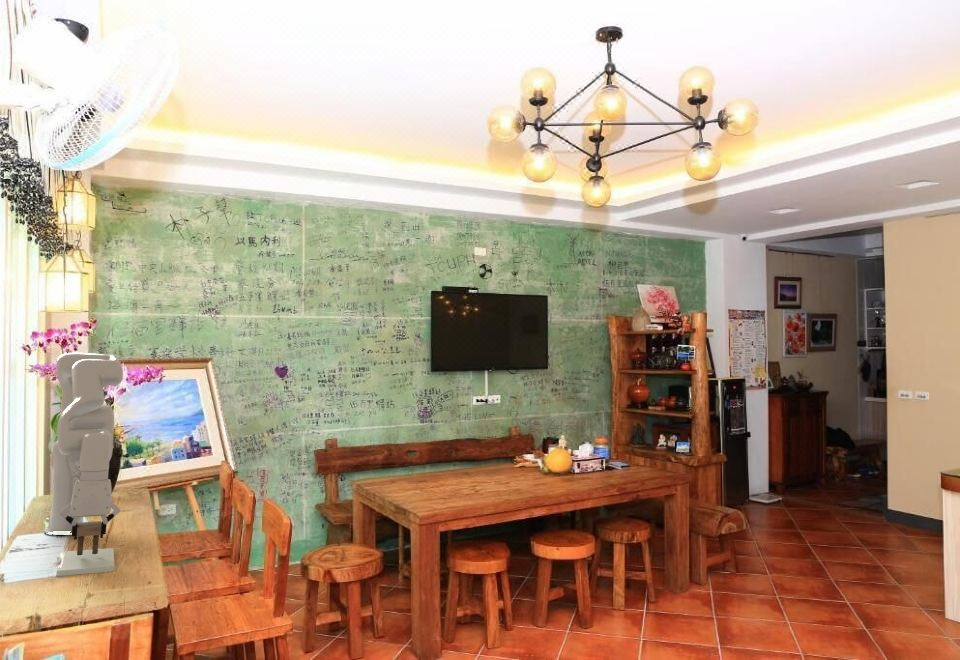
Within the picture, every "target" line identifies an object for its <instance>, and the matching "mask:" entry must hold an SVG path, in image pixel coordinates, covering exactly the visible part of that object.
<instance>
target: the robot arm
mask: <svg viewBox="0 0 960 660" xmlns="http://www.w3.org/2000/svg"><path fill="white" fill-rule="evenodd" d="M55 368H56V369H55V372H56V375H57V378H58V379H57V380H58V382H59V385H60V389H61V402H60V414H59V415H60V416H59V419H58V422H57V430H56V431H57V432H56V433H57V435H56V436H57V439H56V441H55V442H54V444H53V447H52V457H53V458H52V459H53V485H52V497H51V508H50V515H49V517H46V518H45V519H44V522H45V523H48V526H47V527H45V528H44V529H43V533H48V532H53V531H71V532H70V533H72V535H71V537H73V541H76V540H78V537H77V527H78V523H80V522H84V518H85V517H99V516H100V518H101V535H99V539H100V538H101V539H103V538H104V535H106V534H107V525H108V523H109V522H110V521H111V520H112V519H114V517H115V516H117V515H118V514H119V513H120V512H121V508H120V506H118V505H116V503H115V502H113V501H112V482H111V479H109V469H110V461H111V459H112V456H113V451H114V450H113V447H114V432H115V431H114V430H115V428H114V427H115V413H114V410H113V408H112V406H110V405H108V404H104V403H105V395H104V393H105V392H104V386H107V387H108V386H113V387H115V386H119V385H120V384H121V382H123V378H124V370H123V365H122V363H121V361H120V360H119V359H118V358H117V356H114V355H113V354H108V353H87V352H86V353H85V352H68V353H63V354H61V355H59V356H58V357H57V359H56V363H55ZM111 510H113V511H112V512H111Z"/></svg>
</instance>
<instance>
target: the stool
mask: <svg viewBox="0 0 960 660" xmlns="http://www.w3.org/2000/svg"><path fill="white" fill-rule="evenodd" d="M101 523H102V520H101V521H100V520H99V521H83V522H80V523H78V527H77V547H76V548H77V549H76V551H77V555H82V554H83V550H84V542H85V537H89V536H90V537H93V538H92V549H91V550H92V554H97V553H98V549H99V540H100V535H101Z"/></svg>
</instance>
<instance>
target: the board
mask: <svg viewBox="0 0 960 660" xmlns="http://www.w3.org/2000/svg"><path fill="white" fill-rule="evenodd" d="M64 552H65V556H64V561H63V564H62V567H61V568H60V567H59V568H56V577H64V576H65V577H66V576H74V575H75V576H76V575H78V576H79V575H87V574H99V573H101V574H102V573H109V572H110V573H111V572H115V549H114V547H109V548H107V547H106V548H98V553H97V554H92V549H83V554H82V555H77V550H67V551H64Z"/></svg>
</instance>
